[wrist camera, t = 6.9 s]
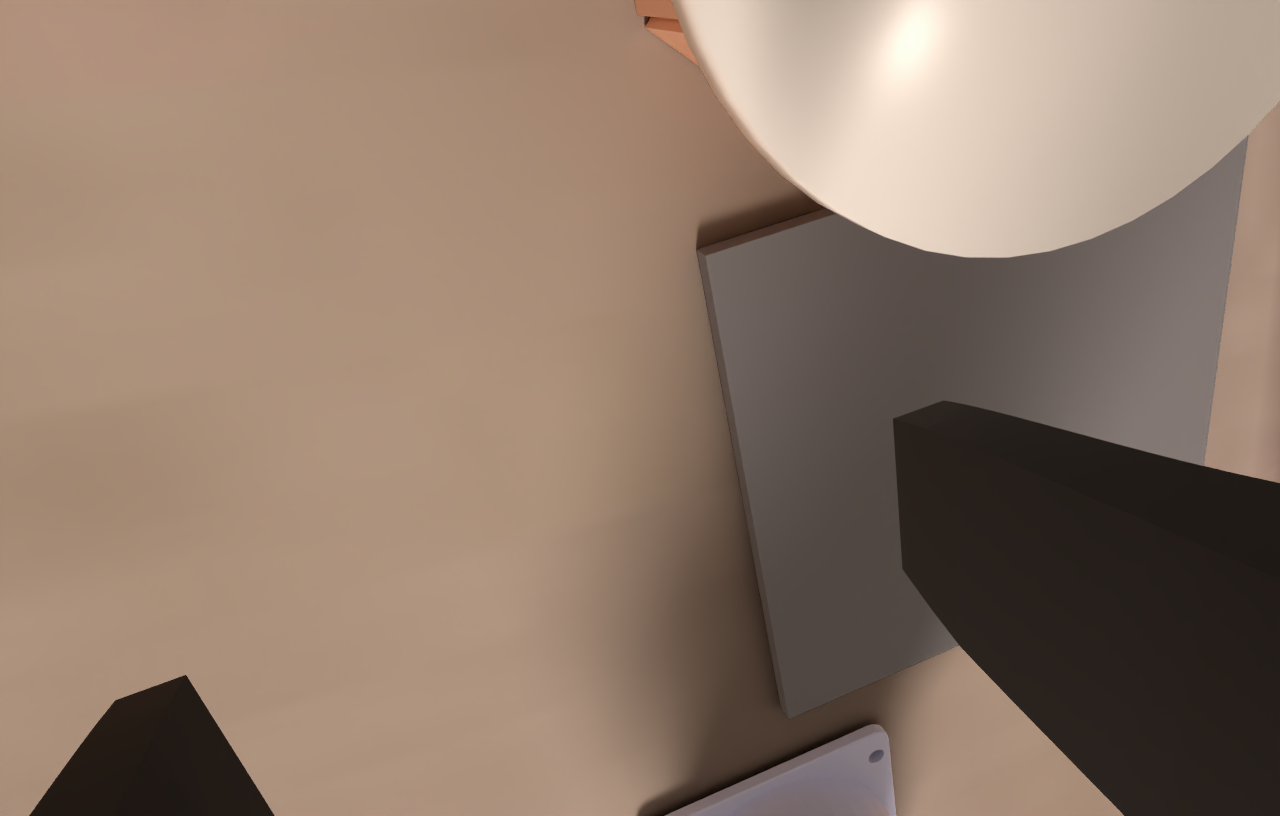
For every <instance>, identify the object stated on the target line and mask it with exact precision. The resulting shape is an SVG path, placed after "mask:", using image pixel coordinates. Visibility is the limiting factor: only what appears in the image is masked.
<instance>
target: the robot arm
mask: <svg viewBox="0 0 1280 816" xmlns="http://www.w3.org/2000/svg"><path fill="white" fill-rule="evenodd" d="M893 430H894V445H895V461H896V477H897V492H898V508H899V524H900V539H901V555H902V569H903V571H904V572H905V573H906V575H907V576H908V578H909V579H910V580H911V582H912V583H913V585H914V586H915V587H916V589H917V590H918V591H919V593H920V594H921V596H922V597H923V598H924V600H925V601H926V603H927V604H928V605H929V607H930V608H931V609H932V611H933V612H934V613H935V615H936V616H937V617H938V619H939V620H940V621H941V622H942V624H943V625H944V626H945V628H946V629H947V630H948V632H949V633H950V634H951V635H952V637H953V638H954V639H955V641H956V642H957V643H958V644H959V645H960V646H961V648H962V649H963V650H964V651H965V652H966V653H967V654H968V655H969V656H970V657H971V658H972V659H973V660H974V661H975V663H976V664H977V665H978V666H979V667H980V668H981V669H982V670H983V671H984V672H985V673H986V674H987V675H988V676H989V677H990V678H991V679H992V680H993V681H994V682H995V683H996V684H997V685H998V686H999V687H1000V689H1001V690H1002V691H1003V692H1004V693H1005V694H1006V695H1007V696H1008V697H1009V698H1010V699H1011V700H1012V701H1013V702H1014V703H1015V704H1016V705H1017V706H1018V707H1019V708H1020V709H1021V710H1022V711H1023V712H1024V713H1025V714H1026V715H1027V716H1028V717H1029V718H1030V719H1031V720H1032V721H1033V722H1034V724H1035V725H1036V726H1037V727H1038V728H1039V729H1040V730H1041V731H1042V732H1043V733H1044V734H1045V735H1046V736H1047V737H1048V738H1049V739H1050V740H1051V741H1052V742H1053V743H1054V744H1055V745H1056V746H1057V747H1058V748H1059V749H1060V750H1061V751H1062V752H1063V753H1064V754H1065V755H1066V756H1067V757H1068V758H1069V759H1070V760H1071V761H1072V762H1073V763H1074V764H1075V765H1076V766H1077V767H1078V769H1079V770H1080V771H1081V772H1082V773H1083V774H1084V775H1085V776H1086V777H1087V778H1088V779H1089V780H1090V781H1091V782H1092V783H1093V784H1094V785H1095V786H1096V787H1097V788H1098V789H1099V790H1100V791H1101V792H1102V793H1103V794H1104V795H1105V796H1106V797H1107V798H1108V799H1109V800H1110V801H1111V802H1112V803H1113V804H1114V805H1115V806H1116V807H1117V808H1118V809H1119V810H1120V811H1121V813H1122V814H1123V815H1124V816H1280V483H1276V482H1272V481H1267V480H1262V479H1258V478H1253V477H1249V476H1244V475H1240V474H1235V473H1230V472H1226V471H1222V470H1218V469H1214V468H1210V467H1206V466H1202V465H1197V464H1193V463H1189V462H1185V461H1181V460H1177V459H1173V458H1169V457H1165V456H1161V455H1157V454H1153V453H1150V452H1146V451H1142V450H1138V449H1134V448H1131V447H1127V446H1123V445H1119V444H1115V443H1112V442H1108V441H1104V440H1100V439H1097V438H1093V437H1089V436H1086V435H1082V434H1078V433H1074V432H1071V431H1067V430H1063V429H1060V428H1056V427H1052V426H1049V425H1045V424H1041V423H1038V422H1034V421H1030V420H1026V419H1023V418H1019V417H1015V416H1011V415H1007V414H1003V413H999V412H996V411H991V410H987V409H983V408H979V407H975V406H970V405H966V404H961V403H955V402H950V401H944V400H943V401H940V402H938V403H935V404H932V405H929V406H926V407H924V408H921V409H918V410H915V411H913V412H910V413H907V414H904V415H902V416H899V417H896V418H893ZM29 816H274V814H273V812H272V811H271V809H270V808H269V806H268V804H267V803H266V801H265V800H264V798H263V797H262V795H261V793H260V792H259V790H258V789H257V787H256V785H255V784H254V782H253V781H252V779H251V777H250V776H249V774H248V773H247V771H246V770H245V768H244V766H243V765H242V763H241V762H240V760H239V758H238V757H237V755H236V754H235V752H234V750H233V749H232V747H231V746H230V744H229V743H228V741H227V739H226V738H225V736H224V735H223V733H222V731H221V730H220V728H219V727H218V725H217V723H216V722H215V720H214V719H213V717H212V716H211V714H210V712H209V711H208V709H207V708H206V706H205V704H204V703H203V701H202V700H201V698H200V696H199V695H198V693H197V692H196V690H195V689H194V687H193V685H192V684H191V682H190V681H189V679H188V677H187V676H186V675H184V676H182V677H179V678H176V679H173V680H171V681H168V682H165V683H162V684H160V685H157V686H154V687H151V688H149V689H146V690H143V691H140V692H138V693H135V694H132V695H129V696H127V697H124V698H121V699H118V700H115V702H114V703H113V704H112V705H111V707H110V708H109V709H108V710H107V712H106V713H105V714H104V715H103V716H102V718H101V719H100V720H99V721H98V723H97V724H96V725H95V727H94V728H93V729H92V731H91V732H90V733H89V735H88V736H87V737H86V739H85V740H84V741H83V743H82V744H81V745H80V747H79V748H78V749H77V751H76V752H75V753H74V755H73V756H72V757H71V759H70V760H69V762H68V763H67V764H66V766H65V767H64V768H63V770H62V771H61V773H60V774H59V775H58V777H57V778H56V779H55V781H54V782H53V784H52V785H51V786H50V788H49V789H48V791H47V792H46V793H45V795H44V796H43V797H42V799H41V800H40V802H39V803H38V804H37V806H36V807H35V809H34V810H33V811H32V813H31V814H30V815H29ZM665 816H896V806H895V796H894V786H893V776H892V766H891V756H890V745H889V737H888V735H887V733H886V732H885V730H884V729H883V728H882V727H881V726H880V725H877V724H871V725H868V726H865V727H863V728H861V729H858V730H856V731H854V732H852V733H849V734H847V735H845V736H843V737H840V738H838V739H836V740H834V741H831V742H829V743H827V744H825V745H822V746H820V747H818V748H816V749H813V750H811V751H809V752H807V753H804V754H802V755H800V756H798V757H795V758H793V759H791V760H789V761H786V762H784V763H782V764H780V765H777V766H775V767H773V768H771V769H768V770H766V771H764V772H762V773H759V774H757V775H755V776H753V777H750V778H748V779H746V780H743V781H741V782H739V783H737V784H734V785H732V786H730V787H728V788H725V789H723V790H721V791H719V792H716V793H714V794H712V795H710V796H707V797H705V798H703V799H701V800H698V801H696V802H694V803H692V804H689V805H687V806H685V807H683V808H680V809H678V810H676V811H674V812H671V813H669V814H667V815H665Z"/></svg>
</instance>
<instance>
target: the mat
mask: <svg viewBox="0 0 1280 816" xmlns="http://www.w3.org/2000/svg"><path fill="white" fill-rule="evenodd" d="M1247 142H1248V136H1247V137H1245V138H1244V139H1243V140H1242V141H1241V142H1240V143H1239V144H1238V145H1237V146H1235V147H1234V148H1233V149H1232V150H1231V151H1230V152H1229V153H1228V154H1227V155H1226V156H1224V157H1223V158H1222V159H1221V160H1220V161H1219V162H1218V163H1217V164H1216V165H1214V166H1213V167H1212V168H1211V169H1210V170H1208V171H1207V172H1206V173H1204V174H1203V175H1202V176H1200V177H1199V178H1198V179H1196V180H1195V181H1194V182H1192V183H1191V184H1189V185H1188V186H1187V187H1185V188H1184V189H1183V190H1181V191H1180V192H1179V193H1177V194H1176V195H1175V196H1173V197H1172V198H1170V199H1168V200H1167V201H1165V202H1163V203H1162V204H1160V205H1158V206H1157V207H1155V208H1153V209H1152V210H1150V211H1148V212H1146V213H1145V214H1143V215H1141V216H1140V217H1138V218H1136V219H1135V220H1133V221H1131V222H1129V223H1126V224H1124V225H1122V226H1119V227H1117V228H1115V229H1113V230H1110V231H1108V232H1106V233H1104V234H1101V235H1099V236H1097V237H1095V238H1092V239H1089V240H1086V241H1083V242H1079V243H1076V244H1073V245H1069V246H1066V247H1063V248H1059V249H1056V250H1053V251H1048V252H1042V253H1035V254H1028V255H1022V256H1015V257H1009V258H987V257H961V256H955V255H948V254H942V253H936V252H930V251H925V250H922V249H919V248H916V247H913V246H910V245H907V244H904V243H901V242H898V241H895V240H892V239H889V238H886V237H884V236H881V235H879V234H877V233H875V232H873V231H870V230H868V229H866V228H864V227H862V226H859V225H857V224H855V223H853V222H851V221H849V220H848V219H846V218H844V217H842V216H840V215H838V214H836V213H835V212H833V211H831V210H829V209H827V208H824V209H821V210H818V211H815V212H812V213H809V214H806V215H802V216H799V217H796V218H793V219H790V220H787V221H784V222H781V223H777V224H774V225H771V226H768V227H765V228H762V229H759V230H756V231H752V232H749V233H746V234H743V235H740V236H737V237H734V238H731V239H728V240H724V241H721V242H718V243H715V244H712V245H709V246H706V247H703V248H699V249H696V250H697V255H698V260H699V266H700V271H701V277H702V282H703V288H704V293H705V299H706V304H707V309H708V315H709V320H710V326H711V331H712V337H713V342H714V347H715V353H716V358H717V364H718V369H719V375H720V380H721V385H722V391H723V396H724V402H725V407H726V413H727V418H728V423H729V429H730V434H731V440H732V445H733V451H734V456H735V461H736V467H737V472H738V478H739V483H740V489H741V494H742V499H743V505H744V510H745V516H746V521H747V527H748V532H749V537H750V543H751V548H752V554H753V559H754V565H755V570H756V575H757V581H758V586H759V592H760V597H761V603H762V608H763V613H764V619H765V624H766V630H767V635H768V641H769V646H770V652H771V657H772V662H773V668H774V673H775V679H776V684H777V690H778V695H779V700H780V706H781V708H782V710H783V711H784V713H785V714H786V716H787V718H788V719H791V718H793V717H795V716H798V715H800V714H802V713H805V712H807V711H809V710H811V709H814V708H816V707H818V706H821V705H823V704H825V703H828V702H830V701H832V700H834V699H837V698H839V697H841V696H844V695H846V694H848V693H851V692H853V691H855V690H857V689H860V688H862V687H864V686H867V685H869V684H871V683H874V682H876V681H878V680H880V679H883V678H885V677H887V676H890V675H892V674H894V673H897V672H899V671H901V670H903V669H906V668H908V667H910V666H913V665H915V664H917V663H920V662H922V661H924V660H927V659H929V658H931V657H933V656H936V655H938V654H940V653H943V652H945V651H947V650H950V649H952V648H954V647H956V646H959V644H958V643H957V642H956V641H955V639H954V638H953V637H952V635H951V634H950V633H949V632H948V630H947V629H946V628H945V626H944V625H943V624H942V622H941V621H940V620H939V619H938V617H937V616H936V615H935V613H934V612H933V611H932V609H931V608H930V607H929V605H928V604H927V603H926V601H925V600H924V598H923V597H922V596H921V594H920V593H919V591H918V590H917V589H916V587H915V586H914V585H913V583H912V582H911V580H910V579H909V578H908V576H907V575H906V573H905V572H904V571H903V569H902V555H901V539H900V524H899V508H898V492H897V477H896V461H895V445H894V430H893V418H896V417H899V416H902V415H904V414H907V413H910V412H913V411H915V410H918V409H921V408H924V407H926V406H929V405H932V404H935V403H938V402H940V401H943V400H944V401H950V402H955V403H961V404H966V405H970V406H975V407H979V408H983V409H987V410H991V411H996V412H999V413H1003V414H1007V415H1011V416H1015V417H1019V418H1023V419H1026V420H1030V421H1034V422H1038V423H1041V424H1045V425H1049V426H1052V427H1056V428H1060V429H1063V430H1067V431H1071V432H1074V433H1078V434H1082V435H1086V436H1089V437H1093V438H1097V439H1100V440H1104V441H1108V442H1112V443H1115V444H1119V445H1123V446H1127V447H1131V448H1134V449H1138V450H1142V451H1146V452H1150V453H1153V454H1157V455H1161V456H1165V457H1169V458H1173V459H1177V460H1181V461H1185V462H1189V463H1193V464H1197V465H1202V466H1204V460H1205V453H1206V446H1207V438H1208V431H1209V423H1210V416H1211V409H1212V401H1213V394H1214V386H1215V379H1216V372H1217V364H1218V357H1219V349H1220V342H1221V335H1222V327H1223V320H1224V313H1225V305H1226V298H1227V290H1228V283H1229V276H1230V268H1231V261H1232V253H1233V246H1234V239H1235V231H1236V224H1237V216H1238V209H1239V202H1240V194H1241V187H1242V179H1243V172H1244V165H1245V157H1246V150H1247Z"/></svg>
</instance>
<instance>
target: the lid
mask: <svg viewBox="0 0 1280 816" xmlns="http://www.w3.org/2000/svg"><path fill="white" fill-rule="evenodd" d="M671 2H672V5H673V7H674V10H675V13H676V15H677V18H678V21H679V23H680V26H681V28H682V31H683V34H684V36H685V39H686V42H687V44H688V46H689V48H690V49H691V51H692V53H693V55H694V57H695V59H696V61H697V63H698V65H699V66H700V68H701V70H702V72H703V74H704V76H705V78H706V80H707V82H708V83H709V85H710V87H711V89H712V91H713V93H714V95H715V96H716V98H717V99H718V100H719V102H720V103H721V105H722V106H723V107H724V109H725V110H726V112H727V113H728V114H729V116H730V117H731V119H732V120H733V121H734V123H735V124H736V126H737V127H738V128H739V130H740V131H741V133H742V134H743V135H744V137H745V138H746V139H747V141H748V142H749V143H750V144H751V145H752V146H753V147H754V148H755V149H756V150H757V151H758V152H759V153H760V154H761V155H762V156H763V157H764V158H765V159H766V160H767V161H768V162H769V163H770V165H771V166H772V167H773V168H774V169H775V170H776V171H777V172H778V173H779V174H780V175H781V176H782V177H784V178H785V179H786V180H788V181H789V182H790V183H792V184H793V185H794V186H796V187H797V188H798V189H799V190H801V191H802V192H803V193H805V194H806V195H807V196H809V197H810V198H811V199H813V200H814V201H815V202H816V203H818V204H820V205H822V206H823V207H825V208H827V209H829V210H831V211H833V212H835V213H836V214H838V215H840V216H842V217H844V218H846V219H848V220H849V221H851V222H853V223H855V224H857V225H859V226H862V227H864V228H866V229H868V230H870V231H873V232H875V233H877V234H879V235H881V236H884V237H886V238H889V239H892V240H895V241H898V242H901V243H904V244H907V245H910V246H913V247H916V248H919V249H922V250H925V251H930V252H936V253H942V254H948V255H955V256H961V257H987V258H1009V257H1015V256H1022V255H1028V254H1035V253H1042V252H1048V251H1053V250H1056V249H1059V248H1063V247H1066V246H1069V245H1073V244H1076V243H1079V242H1083V241H1086V240H1089V239H1092V238H1095V237H1097V236H1099V235H1101V234H1104V233H1106V232H1108V231H1110V230H1113V229H1115V228H1117V227H1119V226H1122V225H1124V224H1126V223H1129V222H1131V221H1133V220H1135V219H1136V218H1138V217H1140V216H1141V215H1143V214H1145V213H1146V212H1148V211H1150V210H1152V209H1153V208H1155V207H1157V206H1158V205H1160V204H1162V203H1163V202H1165V201H1167V200H1168V199H1170V198H1172V197H1173V196H1175V195H1176V194H1177V193H1179V192H1180V191H1181V190H1183V189H1184V188H1185V187H1187V186H1188V185H1189V184H1191V183H1192V182H1194V181H1195V180H1196V179H1198V178H1199V177H1200V176H1202V175H1203V174H1204V173H1206V172H1207V171H1208V170H1210V169H1211V168H1212V167H1213V166H1214V165H1216V164H1217V163H1218V162H1219V161H1220V160H1221V159H1222V158H1223V157H1224V156H1226V155H1227V154H1228V153H1229V152H1230V151H1231V150H1232V149H1233V148H1234V147H1235V146H1237V145H1238V144H1239V143H1240V142H1241V141H1242V140H1243V139H1244V138H1245V137H1247V136H1248V135H1249V134H1250V133H1251V132H1252V131H1253V129H1254V128H1255V127H1256V126H1257V125H1258V124H1259V123H1260V122H1261V121H1262V120H1263V119H1264V118H1265V116H1266V115H1267V114H1268V113H1269V112H1270V111H1271V110H1272V109H1273V108H1274V107H1275V106H1276V105H1277V104H1278V102H1279V101H1280V0H671Z"/></svg>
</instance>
